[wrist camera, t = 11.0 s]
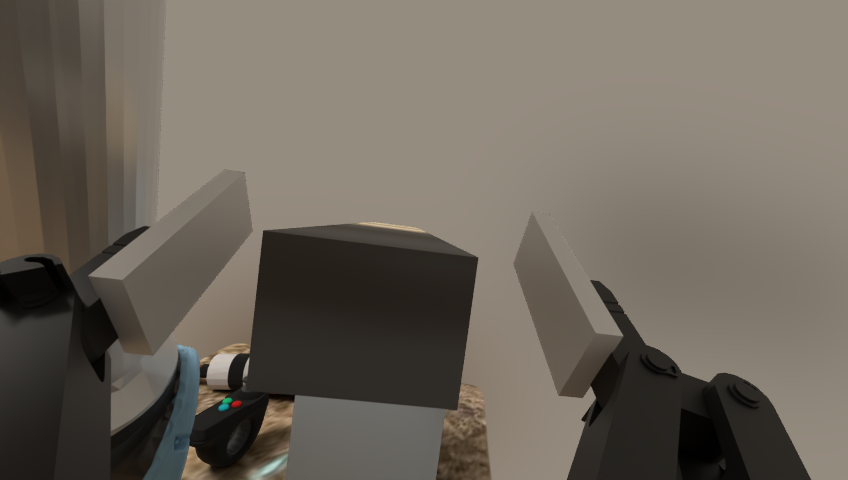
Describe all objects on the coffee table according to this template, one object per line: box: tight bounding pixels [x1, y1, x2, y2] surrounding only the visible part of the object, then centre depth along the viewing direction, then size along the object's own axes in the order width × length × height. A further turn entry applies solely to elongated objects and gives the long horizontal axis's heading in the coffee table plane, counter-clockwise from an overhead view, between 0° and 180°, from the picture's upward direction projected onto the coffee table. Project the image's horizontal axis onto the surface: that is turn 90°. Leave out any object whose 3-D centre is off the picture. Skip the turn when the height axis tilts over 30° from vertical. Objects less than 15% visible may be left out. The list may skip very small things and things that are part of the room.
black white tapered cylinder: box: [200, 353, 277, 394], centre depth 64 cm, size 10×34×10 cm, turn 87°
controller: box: [189, 376, 270, 467], centre depth 46 cm, size 4×12×10 cm, turn 165°
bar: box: [246, 222, 478, 410], centre depth 20 cm, size 26×4×3 cm, turn 4°
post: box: [285, 395, 445, 480], centre depth 38 cm, size 22×16×32 cm
